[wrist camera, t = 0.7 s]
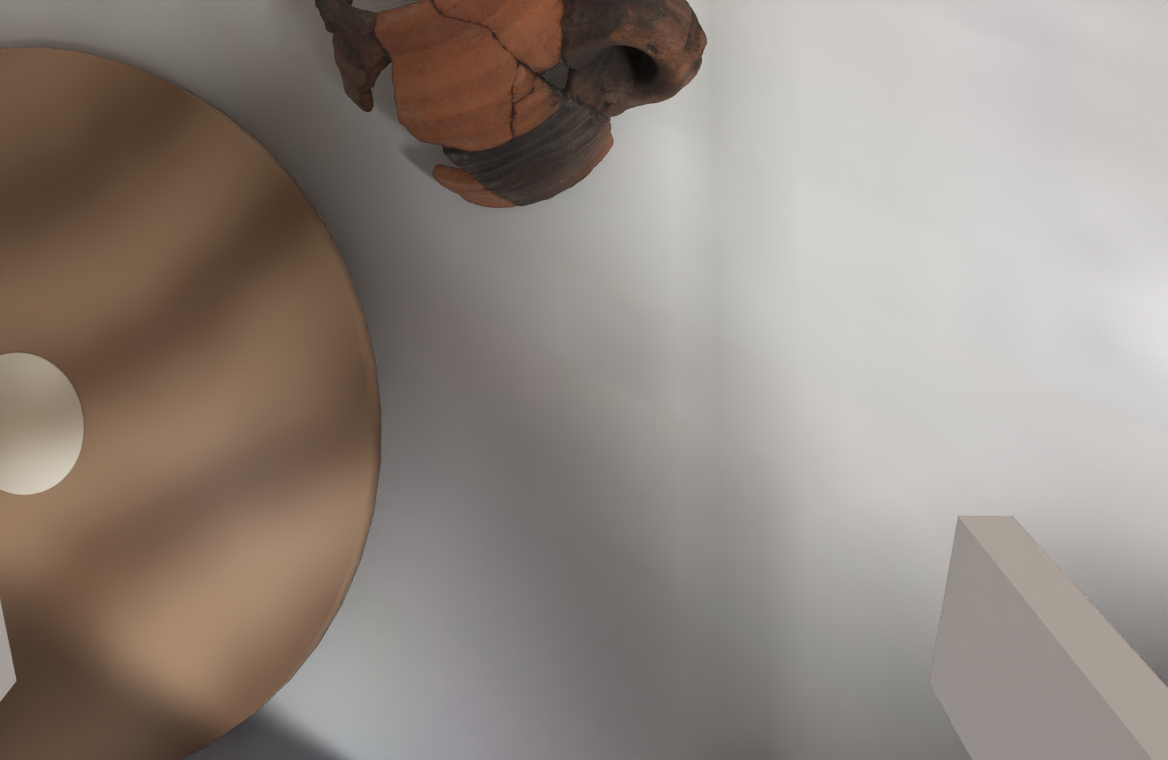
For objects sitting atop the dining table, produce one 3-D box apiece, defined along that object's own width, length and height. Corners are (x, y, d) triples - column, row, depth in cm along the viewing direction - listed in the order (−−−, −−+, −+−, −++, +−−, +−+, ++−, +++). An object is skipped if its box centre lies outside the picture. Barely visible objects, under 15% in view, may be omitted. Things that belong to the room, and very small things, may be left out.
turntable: (535, 482, 33) (527, 487, 32) (17, 907, 38) (-5, 924, 37) (68, -104, 35) (46, -117, 34) (-367, 370, 40) (-398, 371, 39)
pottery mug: (389, 227, 36) (239, 68, 29) (468, 19, 39) (350, -167, 32) (713, 235, 31) (622, 43, 24) (773, -6, 34) (709, -236, 27)
